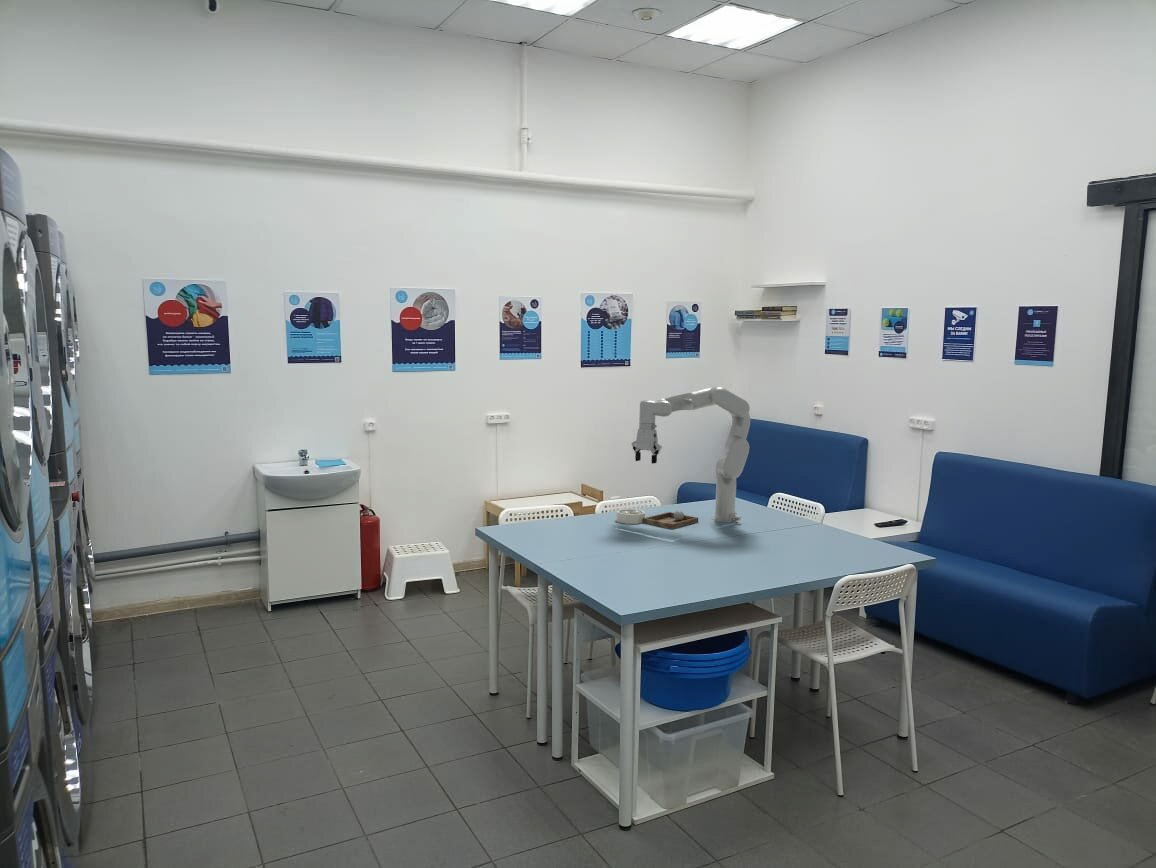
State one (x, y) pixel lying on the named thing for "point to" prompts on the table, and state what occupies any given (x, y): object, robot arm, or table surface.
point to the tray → (669, 520)
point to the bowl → (630, 516)
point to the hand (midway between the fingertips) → (645, 462)
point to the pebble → (678, 515)
